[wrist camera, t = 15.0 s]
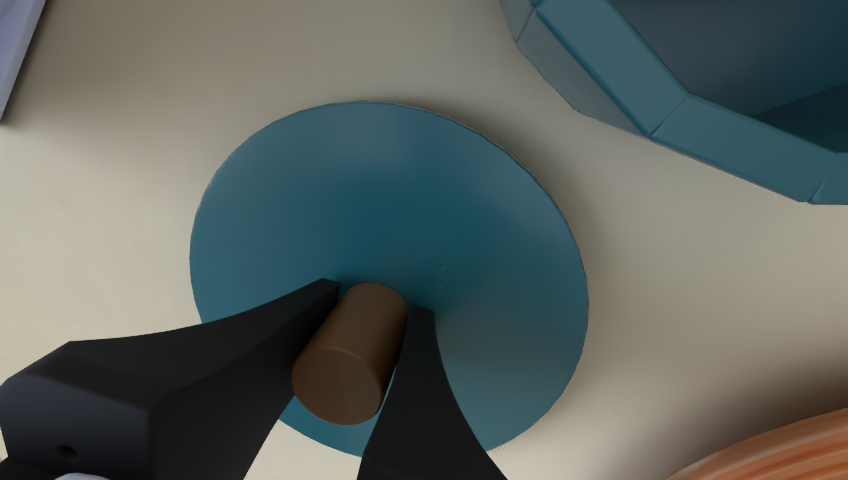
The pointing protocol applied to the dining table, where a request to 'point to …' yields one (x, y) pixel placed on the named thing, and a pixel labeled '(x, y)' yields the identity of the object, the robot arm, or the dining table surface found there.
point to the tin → (707, 80)
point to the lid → (397, 263)
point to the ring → (781, 454)
